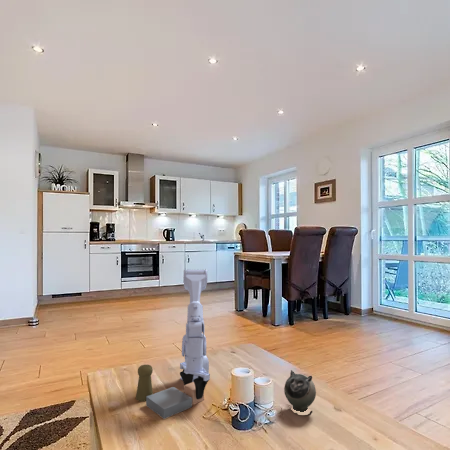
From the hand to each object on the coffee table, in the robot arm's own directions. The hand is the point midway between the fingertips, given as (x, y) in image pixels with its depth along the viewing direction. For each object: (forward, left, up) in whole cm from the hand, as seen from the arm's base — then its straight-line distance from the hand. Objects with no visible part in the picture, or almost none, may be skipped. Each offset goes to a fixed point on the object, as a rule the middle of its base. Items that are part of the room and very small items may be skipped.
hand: (193, 395), depth 114 cm
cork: (+12, -13, -2) cm, 18 cm away
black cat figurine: (-22, +29, -2) cm, 36 cm away
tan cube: (0, 0, -2) cm, 2 cm away
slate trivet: (+9, -2, -2) cm, 9 cm away
